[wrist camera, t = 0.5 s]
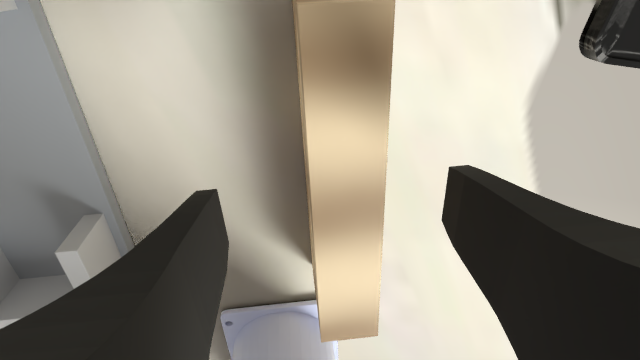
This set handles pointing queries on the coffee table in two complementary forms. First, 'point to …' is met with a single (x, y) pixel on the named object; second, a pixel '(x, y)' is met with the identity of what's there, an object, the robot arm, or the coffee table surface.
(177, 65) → the coffee table surface
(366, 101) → the oak slat
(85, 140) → the end cap cradle
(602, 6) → the phone
